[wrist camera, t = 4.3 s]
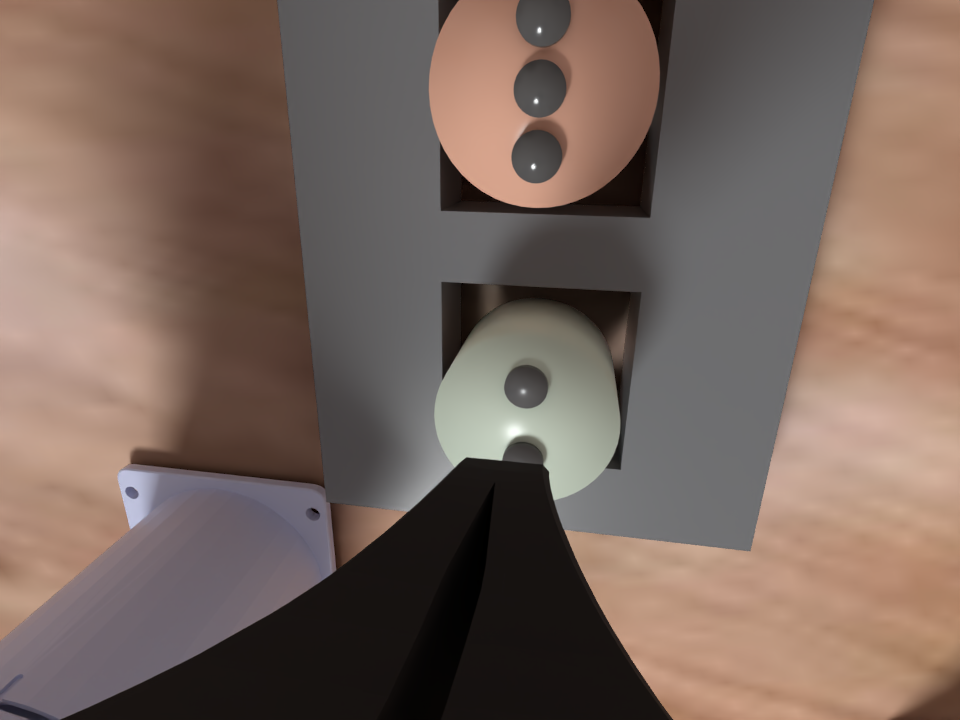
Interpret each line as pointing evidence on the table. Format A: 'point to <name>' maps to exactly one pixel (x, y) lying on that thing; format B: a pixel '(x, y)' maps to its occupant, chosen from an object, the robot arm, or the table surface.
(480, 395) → the button two dots
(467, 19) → the button three dots
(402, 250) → the button board
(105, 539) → the table surface
